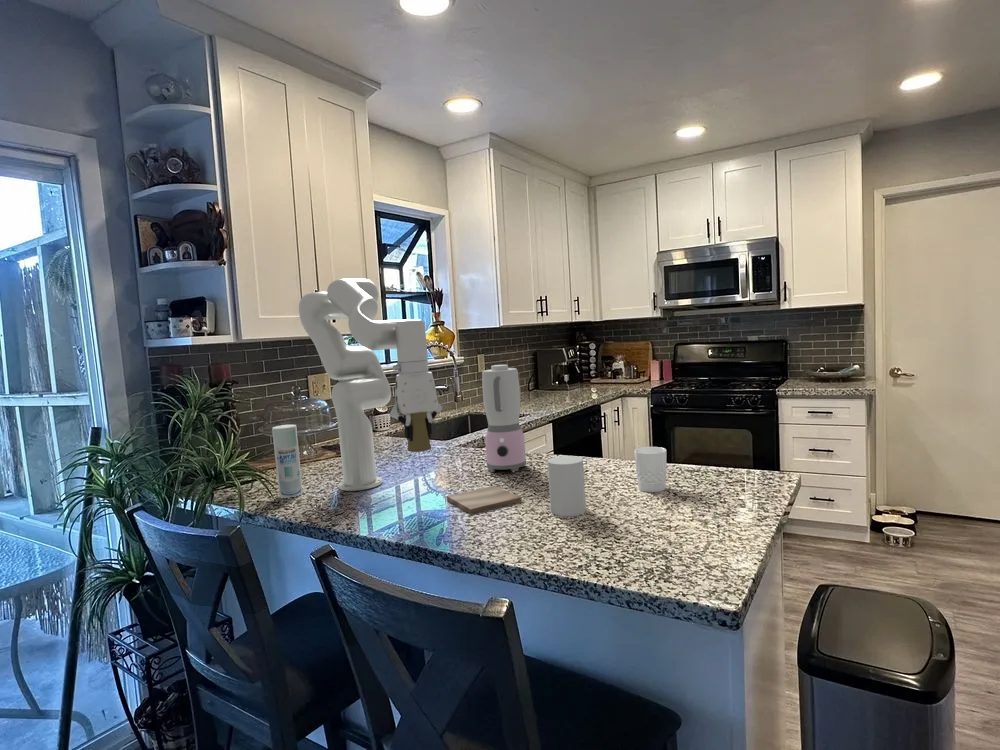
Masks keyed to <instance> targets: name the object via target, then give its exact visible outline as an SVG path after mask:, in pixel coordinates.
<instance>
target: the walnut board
mask: <svg viewBox="0 0 1000 750" xmlns="http://www.w3.org/2000/svg"><path fill="white" fill-rule="evenodd" d="M446 501H447V502H449V503H451V505H454V506H456V507H458V508H460V509H461V510H463V511H464V512H466V513H468V514H470V515H472V514H477V513H481V511H482V512H484V511H485V510H486V511H490V510H494V509H497V508H496V507H498V508H501V506H503V507H505V505H507V506H510V505H509V504H511V505H514V504H513V503H515V504H518V503H517V502H519V503H522V497H521V496H520V495H518V494H514V493H513V492H510V491H508V490H506V489H503V488H501V487H500V486H496V485H491V486H486V487H482V488H477V489H473V490H468V491H463V492H459V493H454V494H450V495H446ZM493 508H494V509H493ZM489 509H490V510H489Z"/></svg>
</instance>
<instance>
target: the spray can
mask: <svg viewBox="0 0 1000 750" xmlns="http://www.w3.org/2000/svg"><path fill="white" fill-rule="evenodd" d="M297 430H298V429H297V424H282V425H275V426H273V427H272V428H271V434H272V441H273V442H272V443H273V451H274V458H275V467H276V468H275V469H276V476H277V485H278V486H277V487H278V494H279V498H280V497H282V498H281V499H283V498H288V499H291V498H290V497H295V498H297V497H296V496H298V497H300V496H299V495H301V494H302V495H303V493H304V492H303V484H302V471H301V462H300V449H299V440H298V431H297ZM302 495H301V496H302Z"/></svg>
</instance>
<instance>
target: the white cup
mask: <svg viewBox="0 0 1000 750" xmlns="http://www.w3.org/2000/svg"><path fill="white" fill-rule="evenodd" d="M633 452H634V462H635V472H636V473H635V474H636V479H637V484H638V487H637V488H638V489H639V490H640V492H641V491H642V492H645V493H660V492H663V491H665V490H667V481H666V480H667V479H666V478H667V449H666V448H665V447H662V446H661V447H660V446H659V447H658V446H643V447H642V446H641V447H638V448H637V447H636V448H635V449H634V450H633Z"/></svg>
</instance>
